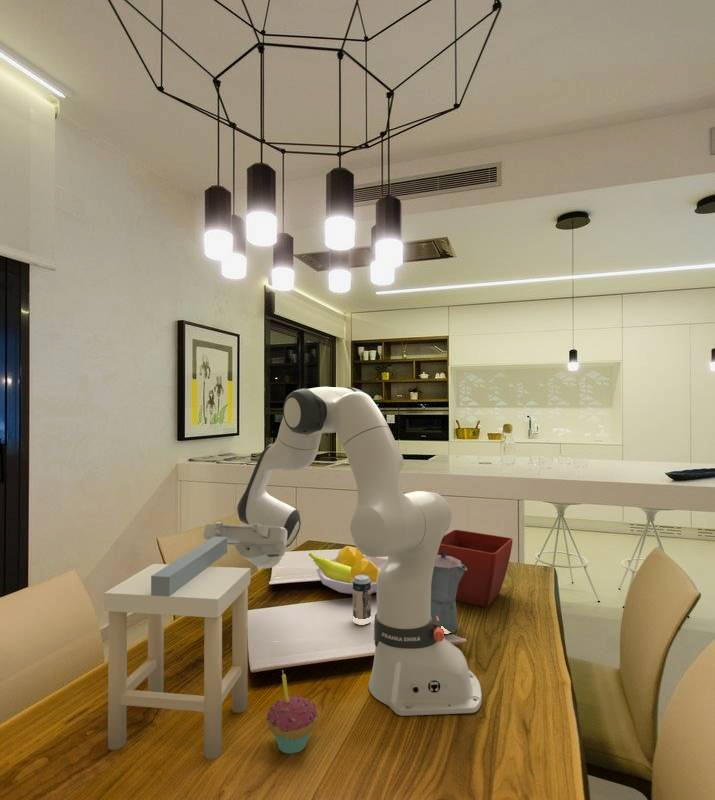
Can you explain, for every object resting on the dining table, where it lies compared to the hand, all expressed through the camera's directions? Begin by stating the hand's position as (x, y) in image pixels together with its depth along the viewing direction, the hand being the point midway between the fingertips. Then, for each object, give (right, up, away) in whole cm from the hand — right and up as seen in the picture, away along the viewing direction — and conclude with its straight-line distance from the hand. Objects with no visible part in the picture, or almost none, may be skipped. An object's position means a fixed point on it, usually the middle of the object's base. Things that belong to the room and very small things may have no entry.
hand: (236, 526), depth 113 cm
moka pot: (+49, -29, +13) cm, 59 cm away
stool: (-3, -29, -26) cm, 39 cm away
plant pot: (+63, -30, +33) cm, 77 cm away
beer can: (+29, -29, +15) cm, 44 cm away
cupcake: (+17, -29, -31) cm, 46 cm away
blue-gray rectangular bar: (-3, -3, -21) cm, 22 cm away
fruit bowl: (+28, -30, +41) cm, 58 cm away
